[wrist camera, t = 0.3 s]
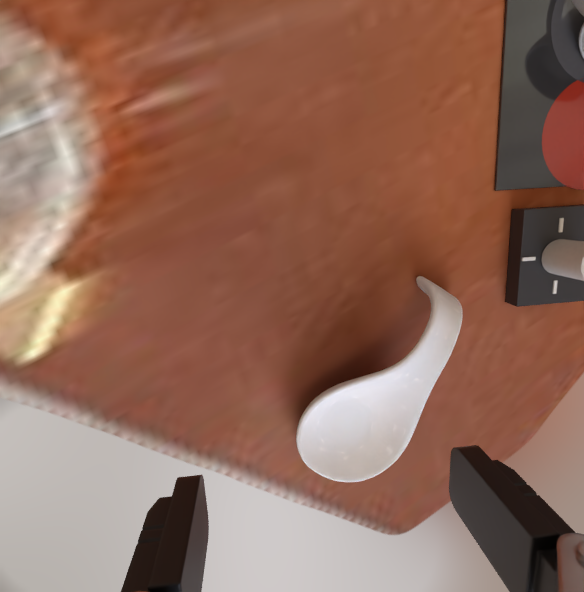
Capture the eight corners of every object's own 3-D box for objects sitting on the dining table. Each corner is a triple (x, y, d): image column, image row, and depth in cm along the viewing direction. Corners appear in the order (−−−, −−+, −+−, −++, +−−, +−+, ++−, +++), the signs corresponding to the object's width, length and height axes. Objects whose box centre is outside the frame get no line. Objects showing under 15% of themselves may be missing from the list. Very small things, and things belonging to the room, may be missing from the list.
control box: (511, 209, 41) (525, 209, 39) (582, 204, 41) (600, 204, 39) (505, 302, 43) (518, 307, 41) (572, 296, 44) (589, 300, 41)
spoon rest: (360, 477, 46) (379, 526, 39) (274, 437, 44) (278, 481, 37) (474, 308, 43) (517, 328, 36) (387, 255, 40) (415, 265, 33)
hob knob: (542, 240, 40) (586, 245, 34) (575, 237, 40) (623, 242, 35) (539, 275, 40) (581, 285, 35) (572, 272, 41) (618, 282, 36)
